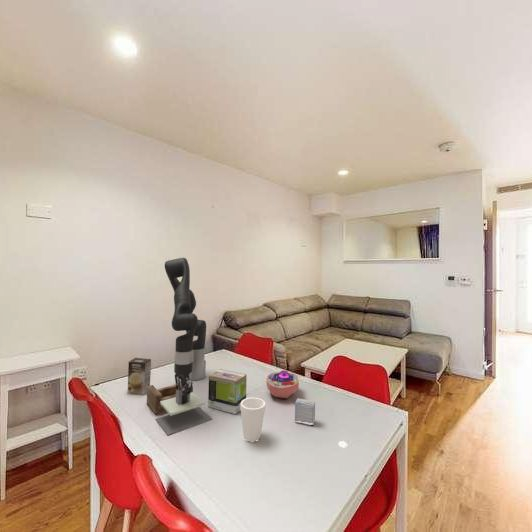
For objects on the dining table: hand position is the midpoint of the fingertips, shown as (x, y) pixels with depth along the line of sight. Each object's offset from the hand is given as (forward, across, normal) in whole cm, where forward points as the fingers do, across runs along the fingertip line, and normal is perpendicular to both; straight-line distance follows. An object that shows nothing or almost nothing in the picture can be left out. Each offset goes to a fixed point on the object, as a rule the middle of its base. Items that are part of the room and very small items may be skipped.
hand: (182, 401), depth 119 cm
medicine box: (+7, -33, -40) cm, 52 cm away
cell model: (+7, -9, -49) cm, 51 cm away
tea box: (+7, -2, -21) cm, 22 cm away
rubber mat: (+7, -1, 0) cm, 7 cm away
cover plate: (+1, 0, 0) cm, 1 cm away
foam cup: (+7, -28, -16) cm, 33 cm away
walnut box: (+7, +15, 0) cm, 16 cm away
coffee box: (+7, +36, +8) cm, 38 cm away
